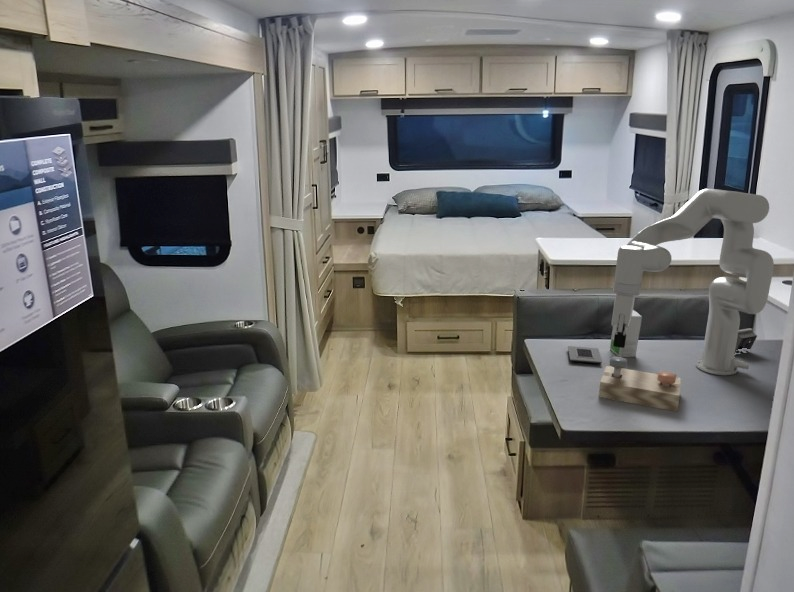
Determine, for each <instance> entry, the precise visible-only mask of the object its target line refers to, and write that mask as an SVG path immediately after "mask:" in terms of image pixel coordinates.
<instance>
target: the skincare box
mask: <svg viewBox="0 0 794 592" xmlns="http://www.w3.org/2000/svg"><path fill="white" fill-rule="evenodd" d="M642 319H643V315H640V314H639V313H638V312H637V311H636V310H634V309H633V312H632V316H631V320H630V323H629V326H628V327H627V329H626V341H625V347H624V348H620V347H614V346H613V344H614V336H615V332H616V325H617V323H616V325H613V326H612V332H611V337H610V343H609V344H610V346H609V350H611V351H612V353H613V354H615V356H616V357H622V358H636V356H637V352H638V343H639V337H640V331H641V327H642V326H641V325H642Z"/></svg>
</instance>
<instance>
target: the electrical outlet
mask: <svg viewBox="0 0 794 592" xmlns="http://www.w3.org/2000/svg"><path fill="white" fill-rule="evenodd" d="M567 350H568V355H569V361H570V362H576V363H588V364H596V365H597V364H599V365H600V364H602V363H603V361H602V357H601V353H600V350H599V348H597V347H587V346H585V347H584V346H572V345H567Z"/></svg>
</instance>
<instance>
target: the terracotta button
mask: <svg viewBox="0 0 794 592" xmlns="http://www.w3.org/2000/svg"><path fill="white" fill-rule="evenodd" d="M657 374H658V377H657V380H658V381H660V382H662V385H663V386H669V384H673V383H675V381H676V377H677V375H676V373H672V372H671V371H659V372H657Z"/></svg>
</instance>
